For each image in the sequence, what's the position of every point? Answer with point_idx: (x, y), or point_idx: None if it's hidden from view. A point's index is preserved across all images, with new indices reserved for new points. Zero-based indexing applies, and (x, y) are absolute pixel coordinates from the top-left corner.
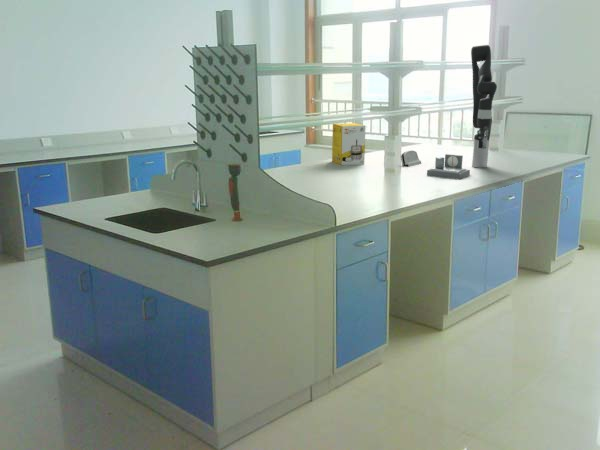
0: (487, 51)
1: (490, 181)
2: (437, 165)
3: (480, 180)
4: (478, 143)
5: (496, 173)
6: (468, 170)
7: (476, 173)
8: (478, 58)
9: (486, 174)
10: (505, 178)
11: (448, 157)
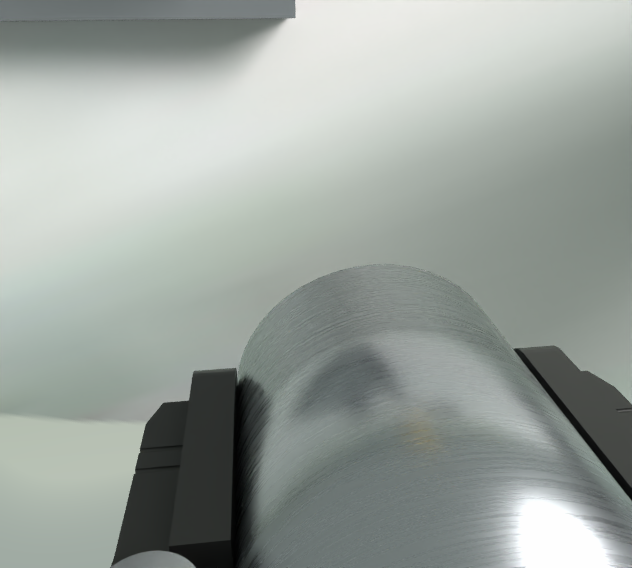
0: None
1: (47, 380)
2: None
3: (12, 283)
4: (273, 414)
5: (568, 258)
6: (227, 18)
7: (456, 59)
8: None
9: (448, 193)
10: None
11: None
